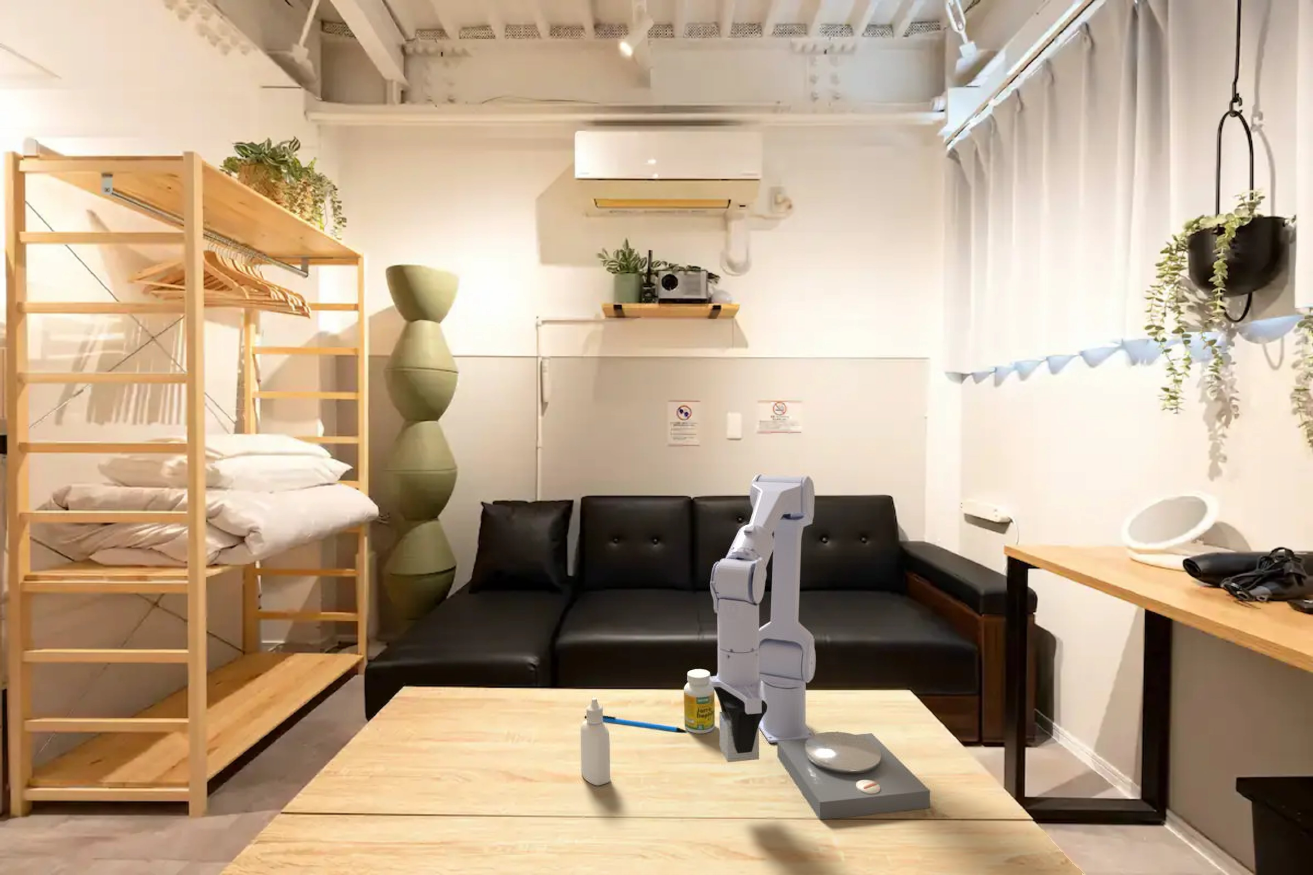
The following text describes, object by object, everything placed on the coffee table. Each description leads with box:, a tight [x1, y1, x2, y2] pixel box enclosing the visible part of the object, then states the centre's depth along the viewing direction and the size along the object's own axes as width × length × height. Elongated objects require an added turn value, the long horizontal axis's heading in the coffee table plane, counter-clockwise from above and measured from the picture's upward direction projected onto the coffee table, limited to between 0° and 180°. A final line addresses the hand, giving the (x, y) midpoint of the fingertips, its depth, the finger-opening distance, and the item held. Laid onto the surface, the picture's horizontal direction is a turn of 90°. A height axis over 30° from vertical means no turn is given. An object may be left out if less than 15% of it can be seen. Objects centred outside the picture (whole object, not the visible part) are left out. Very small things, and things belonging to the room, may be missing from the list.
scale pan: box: [805, 731, 881, 773], centre depth 102 cm, size 11×11×1 cm
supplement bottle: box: [683, 668, 716, 735], centre depth 117 cm, size 5×5×10 cm
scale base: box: [776, 732, 931, 821], centre depth 100 cm, size 17×16×3 cm
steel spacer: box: [718, 711, 760, 763], centre depth 93 cm, size 4×4×5 cm
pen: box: [584, 715, 688, 733], centre depth 119 cm, size 1×19×1 cm, turn 72°
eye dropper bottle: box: [580, 697, 611, 787], centre depth 101 cm, size 4×6×12 cm
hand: (738, 742), depth 94 cm, fingers closed on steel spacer, 4 cm apart
